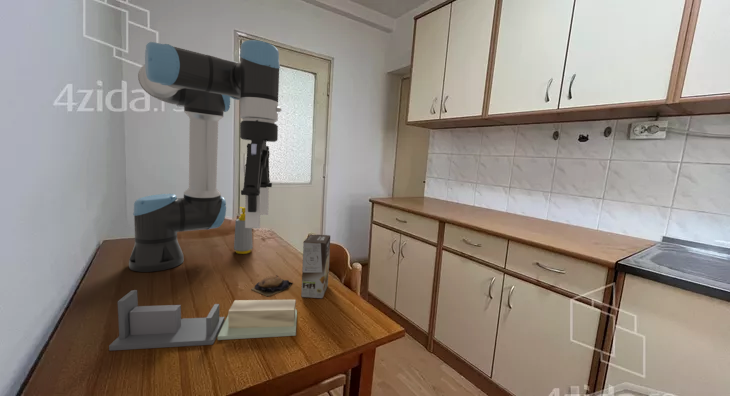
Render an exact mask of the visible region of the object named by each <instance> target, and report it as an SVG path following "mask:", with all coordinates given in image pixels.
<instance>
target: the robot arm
mask: <svg viewBox="0 0 730 396" xmlns="http://www.w3.org/2000/svg"><path fill="white" fill-rule="evenodd" d="M239 57H240V61H235V60H234V61H233V60H231V59H230V60H229V59H227V58H222V57H218V56H214V55H209V54H204V53H199V52H196V51H193V50H188V49H185V48H182V47H181V48H180V47H177V46H173V45H171V44H167V43H159V42H154V41H150V42H147V43H146V45H145V52H144V64H143V65H142V66H141V67H140V69H139V71H138V73H137V77H138V78H137V79H138V83H139V84H140V86H141V88H142V89H143V90H144V92H146V93H147V94H148V95H149V96H150V97H152V98H155V99H157V100H159V101H161V102H164V103H167V104H171V105H177V106H183V111H184V113H185V114H186V115H187V116H188V117H189V118H188V119H189V127H188V129H189V130H188V131H189V134H188V135H189V136H188V138H189V139H188V140H189V141H188V142H189V143H188V149H189V150H188V154H189V155H188V188H186V189H185V191H183V197H180V198H179V197H178V196H177V195H176V194H175V193H161V194H152V195H146V196H143V197H139V198H138V199H136V200H135V201H134V202H133V213H132V216H133V217H134V218H133V221H134V225H133V226H134V246H133V248H132V251H131V254H130V257H129V261H128V269H130V270H131V271H133V272H134V271H135V272H139V273H141V272H142V273H148V272H149V273H150V272H159V271H165V270H169V269H172V268H173V269H174V268H176V267H178V266H181V264H183V263H184V260H185V259H184V253H183V250H182V248H181V246H180V243H179V241H178V233H181V232H191V231H199V230H200V231H201V230H207V231H209V230H210V229H218V228H220V227H221V226H222V224H224V221H225V218H226V213H227V202H226V199H225V197H224V196H222V195H221V194H222V193H221V192H220V191H219V190H218V189H217V182H218V181H217V174H218V173H217V172H218V148H219V147H218V142H219V141H218V139H219V122H220V120H221V119H222V118H224V113H227V112H228V111H229V110H230V105H231V99H233V100H239V118H241V121H240V122H239V125H240V126H239V137H240V140H241V139H242V140H243V141H244V140H245V141H250V143H247V145H246V162H245V169H244V181H243V188H242V189H241V190H240V194H241V196H244V197H245V204H244V205H245V206H244V208H245V228H252V229H260V228H261V215H262V216H263V215H264V216H265V215H266V216H267V215H268V216H269V201H270V200H269V198H270V197H269V195H270V194H269V193H270V191H269V189H270V188H273V187H272V186H273V182H271V180H270V156H271V155H270V147H269V145H267V142H268V143H269V142H270V143H276V142H277V141H278V139H279V138H278V137H279V136H278V135H279V134H278V133H279V132H278V131H279V126H278V125H277V124H276V123H277V122H278V121H279V120H278V119H279V113H280V112H282V108H281V107H280V106H279V91H280V89H279V87H280V81H279V80H280V69H281V65H280V52H279V50H278V48H277V47H276V46H275V45H273V44H272V43H269V42H266V41H263V40H256V39H249V40H247V39H246V40H245V41H243V42H242V43H241V45H240V53H239Z"/></svg>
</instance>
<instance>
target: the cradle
mask: <svg viewBox="0 0 730 396" xmlns="http://www.w3.org/2000/svg"><path fill="white" fill-rule="evenodd" d="M138 303H139V301H138V290H137V289H134V290H133V289H132V290H130V291H129V292H128V293H127V294H125V295H124V296H123V297H122V298H120V299H119V300H117V316H118V317H117V318H118V337H116V339H115V340H113V341H112V342H111V343H110V344H109V346H108V351H122V350H124V351H125V350H141V349H142V350H143V349H145V350H146V349H157V348H161V349H162V348H175V347H176V348H177V347H178V348H179V347H195V346H210V345H214V343H215V341H216V339H217V338H218V335H219V333H220V331H221V328H222V326H223V324H224V322H225V316H220V304H219V303H214V305H212V307H211V309H210V311H209V312H208V314H207V316H206V317H193V318H192V317H188V318H185V317H184V318H182V309H181V305H182V304H165V305H139V304H138Z"/></svg>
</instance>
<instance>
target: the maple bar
mask: <svg viewBox="0 0 730 396" xmlns="http://www.w3.org/2000/svg"><path fill="white" fill-rule="evenodd" d="M296 304H297V303H296V299H248V300H247V299H240V300H239V299H235V300H234V301H233V302H232V304H231V306H230V308H229V309H228V311H227V312H228V314H227V316H228V328H254V327H291V326H294V320H295V309H296Z"/></svg>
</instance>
